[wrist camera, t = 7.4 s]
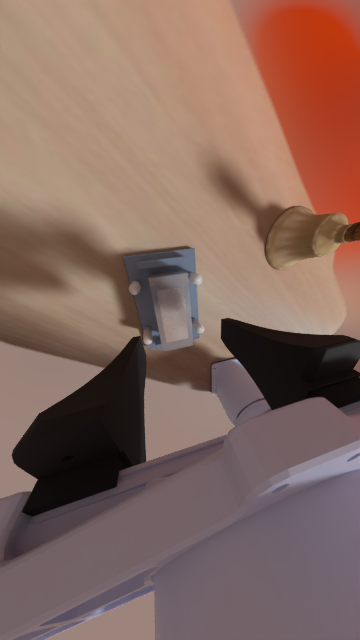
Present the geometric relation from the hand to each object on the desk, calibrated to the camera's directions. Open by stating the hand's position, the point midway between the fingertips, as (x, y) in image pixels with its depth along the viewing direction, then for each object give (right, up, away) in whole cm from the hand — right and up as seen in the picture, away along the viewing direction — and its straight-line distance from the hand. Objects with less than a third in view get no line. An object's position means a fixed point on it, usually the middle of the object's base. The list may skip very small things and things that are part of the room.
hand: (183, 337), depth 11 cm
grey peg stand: (-2, +4, +9) cm, 10 cm away
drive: (-2, +4, +8) cm, 9 cm away
